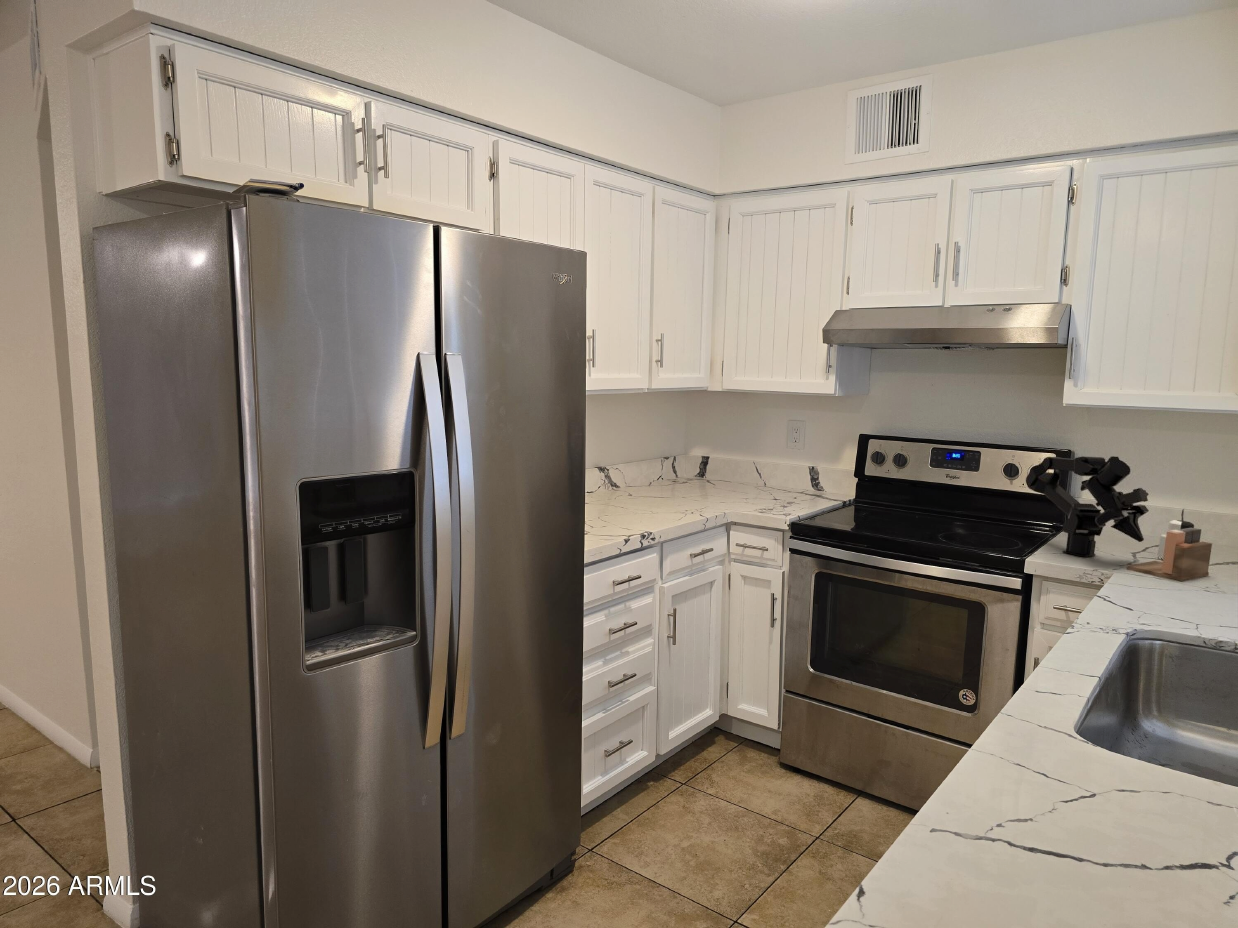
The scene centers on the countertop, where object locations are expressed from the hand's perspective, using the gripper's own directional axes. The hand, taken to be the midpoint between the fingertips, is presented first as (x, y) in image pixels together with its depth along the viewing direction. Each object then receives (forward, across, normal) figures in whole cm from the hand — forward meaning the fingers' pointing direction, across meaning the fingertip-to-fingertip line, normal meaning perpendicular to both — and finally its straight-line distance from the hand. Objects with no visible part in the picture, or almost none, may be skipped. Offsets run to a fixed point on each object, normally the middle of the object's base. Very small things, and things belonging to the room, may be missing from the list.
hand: (1141, 541), depth 223 cm
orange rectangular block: (+10, 0, -1) cm, 11 cm away
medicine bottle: (+6, +23, +6) cm, 25 cm away
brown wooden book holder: (+10, +5, +2) cm, 11 cm away
